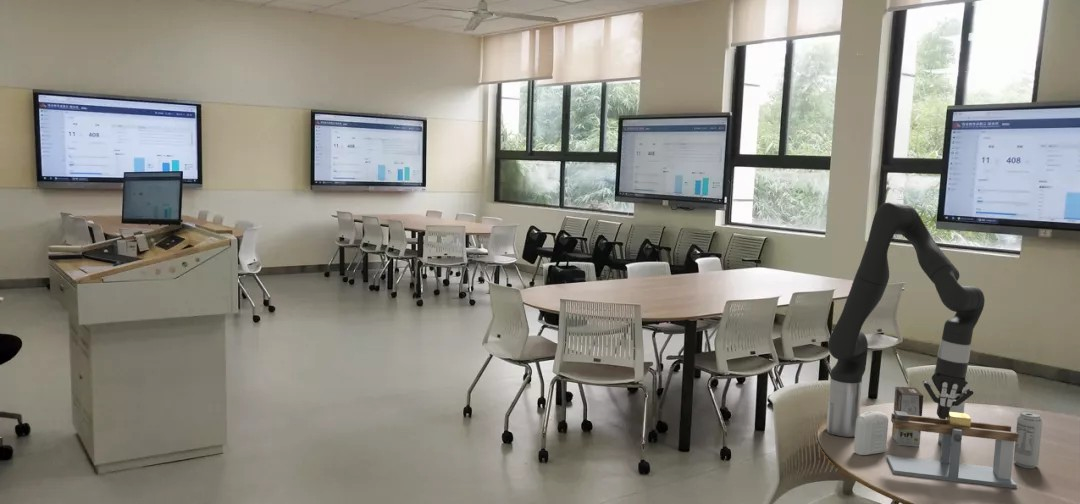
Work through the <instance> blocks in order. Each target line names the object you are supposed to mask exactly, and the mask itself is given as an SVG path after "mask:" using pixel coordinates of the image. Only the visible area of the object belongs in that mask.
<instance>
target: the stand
mask: <svg viewBox="0 0 1080 504" xmlns="http://www.w3.org/2000/svg"><path fill="white" fill-rule="evenodd" d="M946 419H947V418H946ZM962 437H963V436H962V430H961V429H955V428H952V436H951V435H950V434H943V435H942V445H941V447H940V448H941V449H940V460H935V459H934V460H933V459H932V460H931V459H924V458H923V459H922V458H916V457H915V458H914V457H907V456H898V455H897V456H896V455H895V456H894V455H889V454H888V455H886V460H887V462H888V465H889V467H890V469H891V471H892V473H894V474H893V475H898V474H900V476H907V475H909V476H908V477H916V478H926V479H934V480H942V481H950V482H960V483H968V484H976V485H983V486H984V485H985V486H986V485H987V486H992V487H993V486H994V487H1001V488H1010V489H1018V488H1017V487H1018V484H1017V483H1016V482H1015V480H1013V478H1012V468H1013V461H1014V450H1015V441H1006V440H997V439H995V441H994V455H993V462H992V463H993V465H992V466H987V465H978V464H969V463H960V461H961V450H962V449H961V448H962V439H963V438H962ZM951 438H952V440H951Z"/></svg>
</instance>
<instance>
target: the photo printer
mask: <svg viewBox="0 0 1080 504" xmlns="http://www.w3.org/2000/svg"><path fill="white" fill-rule="evenodd" d="M888 427H889V417H888V415H887V414H886V413H885V412H881V411H880V410H879V411H878V410H870V411H865V412H863V413H861V414H860V415H859V416H858V417H857V419H856V428H855V436H854V441H853V442H854V443H853V451H854V453H856V455H859V456H868V455H874V454H880V453H885V452H886V451H887V443H888V441H887V440H888V429H889V428H888Z"/></svg>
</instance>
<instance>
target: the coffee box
mask: <svg viewBox="0 0 1080 504" xmlns="http://www.w3.org/2000/svg"><path fill="white" fill-rule="evenodd" d="M893 400H894V402H893V413H895V411H902V412H907V414H908V415H915V416H923V407H924V406H923V405H924V395H923V393H921V392H920V390H919V389H918V388H916V387H909V386H895V387H894V399H893ZM891 431H892V433H891V437H892V438H893V440H894V442H895V443H896V444H897V445H898V446H905V447H906V446H907V447H914V448H915V447H916V448H917V447H918V448H919V447H920V445H921V444H920V443H921V433H922V431H915V430H906V429H897V428H895V427H894V425H893V424H892V429H891Z"/></svg>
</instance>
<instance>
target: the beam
mask: <svg viewBox="0 0 1080 504" xmlns="http://www.w3.org/2000/svg"><path fill="white" fill-rule="evenodd" d="M890 421H891V423H892V426H893V425H894V427H895V428H897V429H906V430H915V431H921V432H925V433H926V432H927V433H935V434H939V433H942V434H950V435H951V436H952V428H955V429H961V430H962V437H972V438H982V439H988V440H989V439H991V440H996V439H997V440H1006V441H1014V443H1015V442H1018V433H1017V432H1016V431H1012V426H1011V425H1009V424H1007V425H1006V424H999V423H988V422H978V421H972V420H971V425H970V427H961V426H951V425H946V419H940V418H939V417H933V416H925V415H924V416H923V415H922V416H915V415H908V414H907V412H902V411H895V413H894V412H891V419H890Z"/></svg>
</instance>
